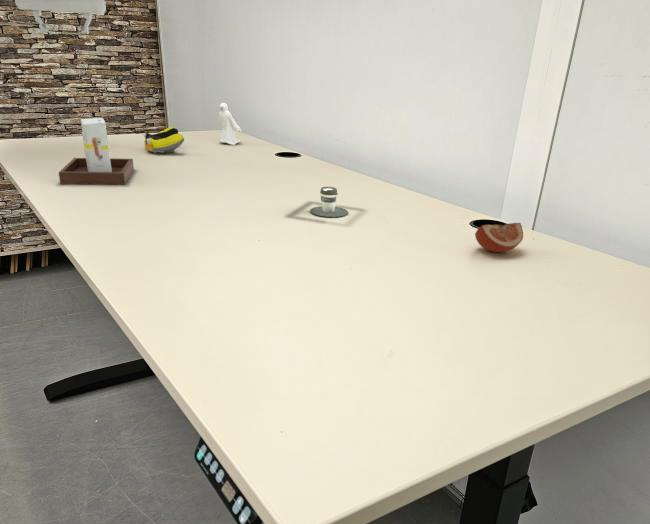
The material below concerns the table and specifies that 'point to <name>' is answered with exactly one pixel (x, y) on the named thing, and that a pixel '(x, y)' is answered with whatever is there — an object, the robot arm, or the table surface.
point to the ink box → (96, 145)
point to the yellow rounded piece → (163, 140)
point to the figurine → (228, 126)
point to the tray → (96, 173)
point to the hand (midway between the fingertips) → (65, 33)
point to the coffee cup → (328, 204)
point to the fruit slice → (499, 236)
